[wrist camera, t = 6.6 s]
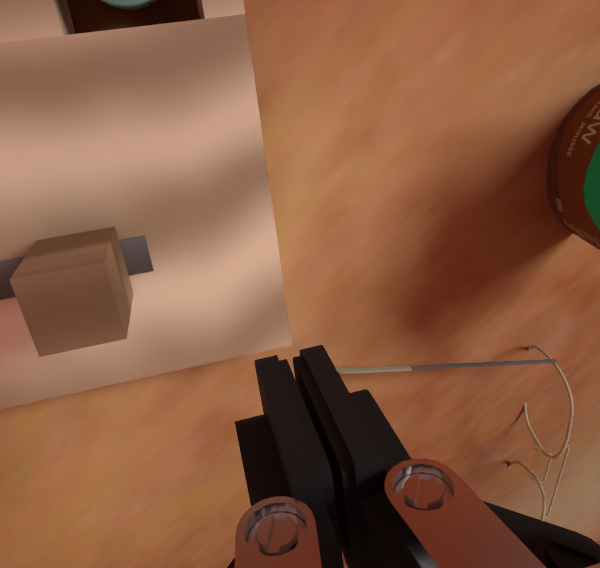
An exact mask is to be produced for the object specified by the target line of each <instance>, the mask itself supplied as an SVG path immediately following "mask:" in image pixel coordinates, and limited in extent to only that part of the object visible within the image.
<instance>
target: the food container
mask: <svg viewBox="0 0 600 568" xmlns="http://www.w3.org/2000/svg"><path fill="white" fill-rule="evenodd" d="M547 190H548V196H549V200H550V203H551V206H552V209H553V211H554V213H555V214H556V216H557V218H558V219H559V221H560V222H561V223H562V224H563V225H564V226H565V227H566V228H567V229H569V230H570V231H571V232H573V233H574V234H575V235H577V236H579V237H580V238H582V239H583V240H585V241H586V242H588V243H590V244H591V245H593V246H594V247H596V248H597V249H599V250H600V85H598V86H596V87H594V88H593V89H591V90H590V91H589V92H588V93H587V94H586V95H585V96H584V97H583V98H582V99H581V100H580V101H579V102H578V103H577V104H576V105H575V106H574V108H573V109H572V110H571V112H570V113H569V114H568V116H567V117H566V119H565V120H564V122H563V124H562V126H561V127H560V129H559V131H558V133H557V136H556V138H555V140H554V143H553V145H552V149H551V152H550V156H549V160H548V167H547Z"/></svg>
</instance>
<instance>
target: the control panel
mask: <svg viewBox="0 0 600 568" xmlns="http://www.w3.org/2000/svg"><path fill="white" fill-rule="evenodd" d="M197 5H198V11H199V16H200V19H199V20H190V21H182V22H173V23H165V24H156V25H147V26H139V27H130V28H122V29H113V30H105V31H96V32H88V33H79V34H76V32H75V29H74V25H73V21H72V18H71V14H70V10H69V6H68V3H67V0H0V409H5V408H9V407H14V406H18V405H23V404H27V403H32V402H36V401H41V400H45V399H50V398H54V397H59V396H64V395H68V394H73V393H77V392H82V391H86V390H91V389H95V388H100V387H104V386H109V385H113V384H118V383H122V382H127V381H131V380H136V379H141V378H145V377H150V376H154V375H159V374H163V373H168V372H172V371H177V370H181V369H186V368H190V367H195V366H199V365H204V364H208V363H213V362H217V361H222V360H227V359H231V358H236V357H240V356H245V355H249V354H254V353H258V352H263V351H267V350H272V349H276V348H281V347H285V346H290V345H292V341H291V334H290V327H289V320H288V313H287V306H286V299H285V292H284V285H283V278H282V270H281V263H280V256H279V249H278V242H277V235H276V228H275V221H274V214H273V207H272V200H271V192H270V185H269V178H268V171H267V164H266V157H265V150H264V143H263V136H262V129H261V121H260V114H259V107H258V100H257V93H256V86H255V79H254V72H253V65H252V58H251V51H250V43H249V36H248V29H247V22H246V15H245V8H244V1H243V0H197ZM110 227H115V228H116V232H117V236H118V239H119V243H120V246H121V250H122V254H123V257H124V261H125V264H126V268H127V271H128V275H129V279H130V282H131V286H132V289H133V300H132V307H131V314H130V321H129V327H128V334H127V339H124V340H119V341H114V342H109V343H104V344H100V345H95V346H90V347H85V348H80V349H76V350H71V351H66V352H61V353H56V354H52V355H47V356H42V357H39V355H38V352H37V350H36V347H35V345H34V342H33V340H32V337H31V334H30V332H29V329H28V327H27V324H26V322H25V319H24V316H23V314H22V311H21V309H20V306H19V304H18V301H17V298H16V296H15V293H14V291H13V288H12V286H11V283H10V280H9V279H10V278H11V276H12V275H13V274H14V272H15V271H16V269H17V268H18V266H19V265H20V264H21V262H22V261H23V259H24V258H25V256H26V255H27V254H28V252H29V251H30V249H31V248H32V247H33V245H34V244H35V242H36V241H37V240H41V239H47V238H53V237H58V236H64V235H70V234H76V233H81V232H87V231H93V230H98V229H104V228H110Z"/></svg>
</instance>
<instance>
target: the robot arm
mask: <svg viewBox="0 0 600 568" xmlns="http://www.w3.org/2000/svg"><path fill="white" fill-rule="evenodd" d="M293 365H294V372H295V378H294V376H293V373H292V371H291V368H290V366H289V363H288V361H287V359H285V360H280V361H279V360H278V357H277V355H276V356H271V357H267V358H262V359H258V360H255V368H256V373H257V379H258V384H259V390H260V395H261V401H262V406H263V412H264V415H260V416H256V417H252V418H247V419H243V420H239V421H235V425H236V431H237V436H238V441H239V446H240V451H241V456H242V461H243V467H244V472H245V477H246V482H247V487H248V492H249V498H250V503H251V507H250V508H249V509H248V510H247V511H246V512H245V513H244V514H243V516H242V517H241V519H240V521H239V523H238V526H237V530H236V539H235V558H234V559H233V561H232V562H231V563H230V565H229V566H228V567H227V568H344V566H343V558H342V553H343V555H344V558H345V561H346V564H347V566H348V568H600V541H599V542H595V541H593V540H592V539H590V538H588V537H586V536H584V535H582V534H579V533H577V532H574V531H571V530H568V529H565V528H562V527H559V526H556V525H553V524H550V523H547V522H544V521H541V520H538V519H535V518H532V517H529V516H526V515H523V514H520V513H517V512H514V511H511V510H508V509H505V508H502V507H499V506H496V505H493V504H490V503H487V502H484V501H482V500H481V499H480V498H479V497H478V496H477V495H476V494H475V493H474V492H473V491H472V489H471V488H470V487H469V486H468V485H467V484H466V483H465V482H464V481H463V480H462V479H461V478H460V477H459V476H458V475H457V474H456V473H455V472H454V471H453V470H452V469H450V468H449V467H448V466H446V465H444V464H442V463H440V462H438V461H435V460H430V459H425V458H422V459H411V458H410V456H409V455H408V453H407V451H406V450H405V448H404V446H403V445H402V443H401V442H400V440H399V438H398V437H397V435H396V434H395V432H394V430H393V429H392V427H391V426H390V424H389V422H388V421H387V419H386V418H385V416H384V414H383V413H382V411H381V410H380V408H379V406H378V405H377V403H376V401H375V400H374V398H373V397H372V395H371V394H370V392H369V391H368V390H366V389H365V390H361V391H357V392H353V393H349V391H348V390H347V388H346V386H345V384H344V383H343V381H342V379H341V377H340V375H339V374H338V372H337V370H336V368H335V366H334V365H333V363H332V361H331V359H330V357H329V356H328V354H327V352H326V350H325V348H324V347H323V345H319V346H315V347H311V348H306V349H302V350H300V356H298V357H294V358H293ZM295 379H296V381H295Z"/></svg>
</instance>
